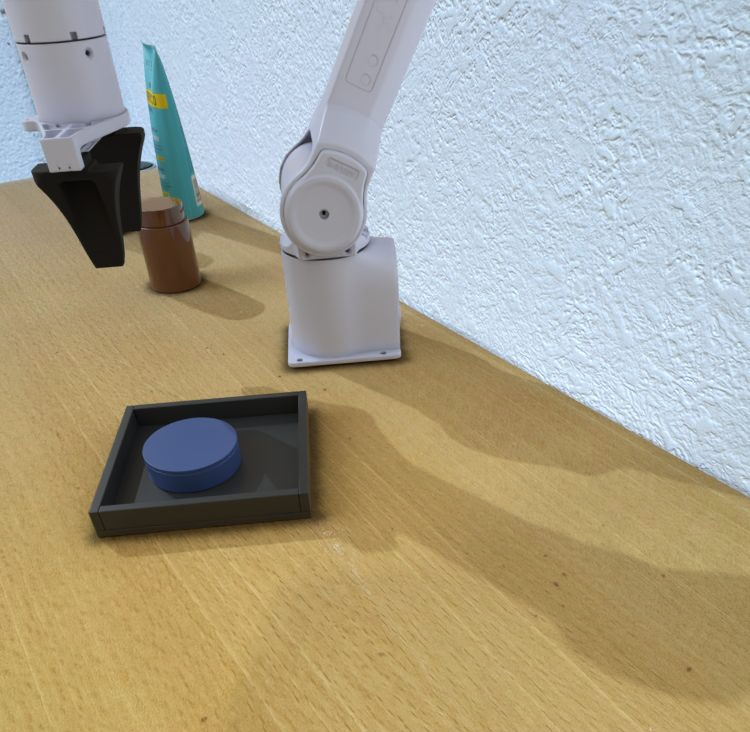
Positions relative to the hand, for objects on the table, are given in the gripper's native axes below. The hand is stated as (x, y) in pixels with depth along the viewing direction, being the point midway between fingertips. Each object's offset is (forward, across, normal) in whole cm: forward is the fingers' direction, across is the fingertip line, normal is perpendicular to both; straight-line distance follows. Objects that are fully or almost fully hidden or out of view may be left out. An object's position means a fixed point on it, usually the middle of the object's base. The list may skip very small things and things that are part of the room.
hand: (120, 247), depth 54 cm
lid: (+8, +17, +6) cm, 19 cm away
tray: (+10, +17, +7) cm, 20 cm away
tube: (+10, -40, -2) cm, 42 cm away
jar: (+10, -18, 0) cm, 20 cm away
